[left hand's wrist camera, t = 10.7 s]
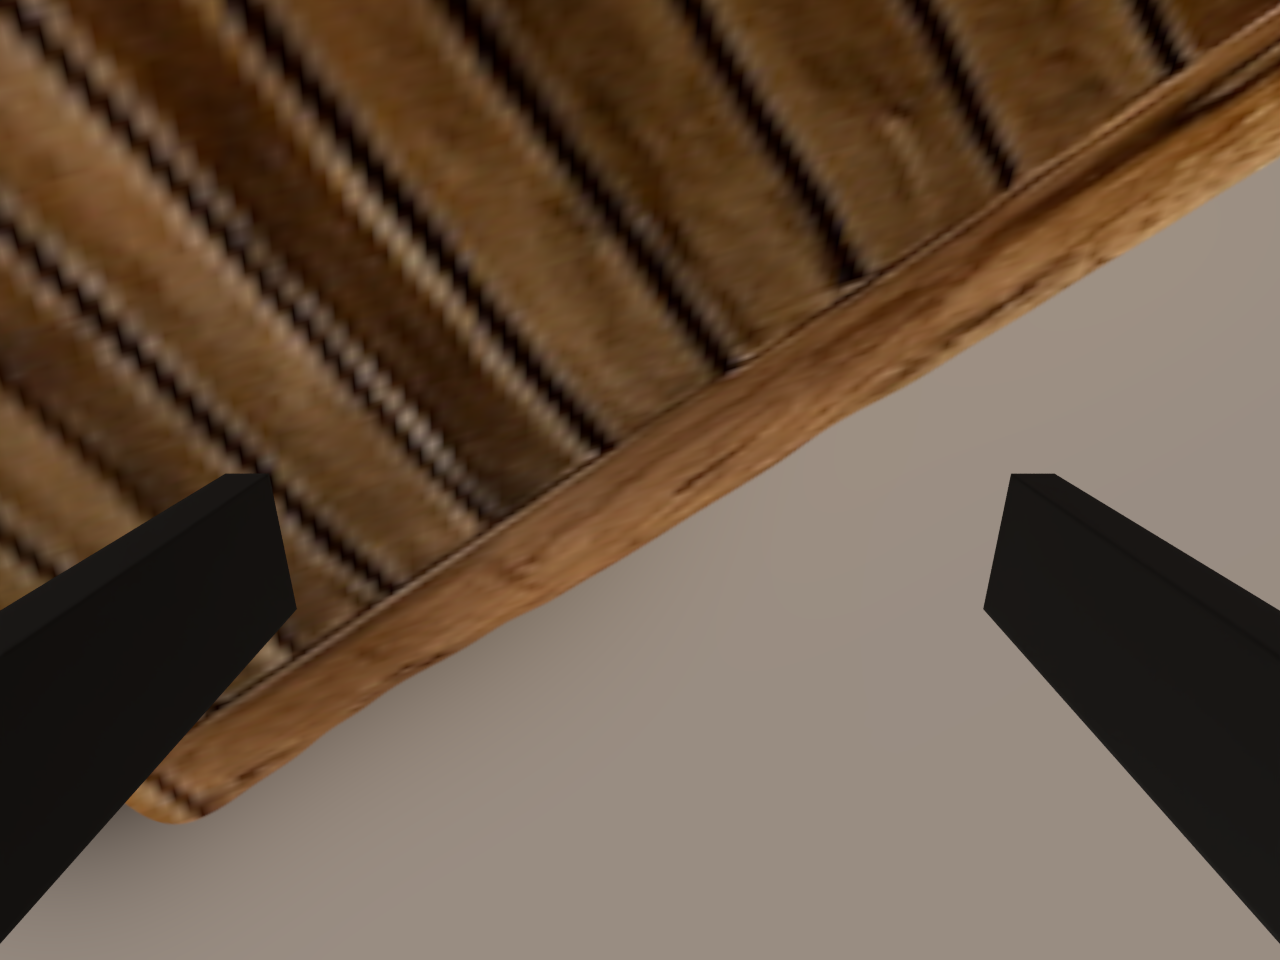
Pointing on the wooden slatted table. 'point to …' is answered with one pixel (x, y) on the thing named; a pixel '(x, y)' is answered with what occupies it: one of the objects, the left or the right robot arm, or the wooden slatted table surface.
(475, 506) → the wooden slatted table surface
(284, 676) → the wooden slatted table surface
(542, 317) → the wooden slatted table surface
